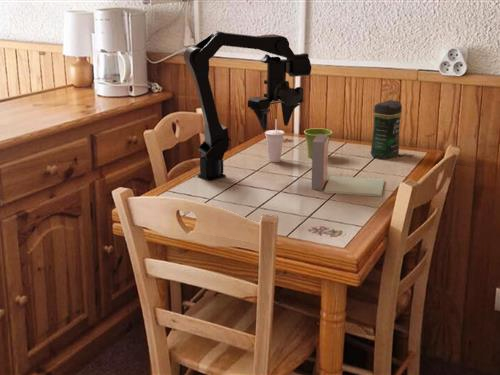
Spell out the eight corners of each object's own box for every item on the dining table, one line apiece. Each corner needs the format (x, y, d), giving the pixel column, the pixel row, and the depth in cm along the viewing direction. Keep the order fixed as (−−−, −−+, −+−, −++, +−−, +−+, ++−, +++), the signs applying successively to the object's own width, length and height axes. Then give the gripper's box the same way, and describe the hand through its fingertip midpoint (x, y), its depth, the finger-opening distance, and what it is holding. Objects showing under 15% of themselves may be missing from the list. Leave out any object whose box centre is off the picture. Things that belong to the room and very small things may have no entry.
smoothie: (276, 164, 219) (277, 122, 215) (260, 161, 223) (260, 119, 218) (288, 160, 224) (288, 118, 220) (272, 157, 228) (272, 116, 223)
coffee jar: (388, 161, 223) (392, 105, 217) (367, 156, 227) (370, 102, 221) (402, 154, 230) (406, 100, 224) (381, 150, 235) (384, 97, 229)
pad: (324, 192, 193) (324, 190, 193) (330, 177, 206) (330, 175, 206) (381, 196, 190) (381, 194, 189) (384, 181, 202) (384, 179, 202)
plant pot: (336, 155, 229) (337, 130, 227) (324, 162, 222) (325, 136, 219) (311, 151, 234) (311, 127, 231) (298, 158, 226) (299, 133, 223)
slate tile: (311, 188, 196) (312, 141, 192) (316, 179, 205) (317, 134, 200) (323, 189, 196) (324, 142, 191) (327, 180, 204) (328, 134, 199)
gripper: (272, 84, 194) (271, 137, 199) (317, 77, 206) (315, 128, 210) (246, 79, 201) (246, 130, 206) (290, 73, 213) (289, 121, 218)
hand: (275, 127), depth 210 cm, fingers open, 9 cm apart
